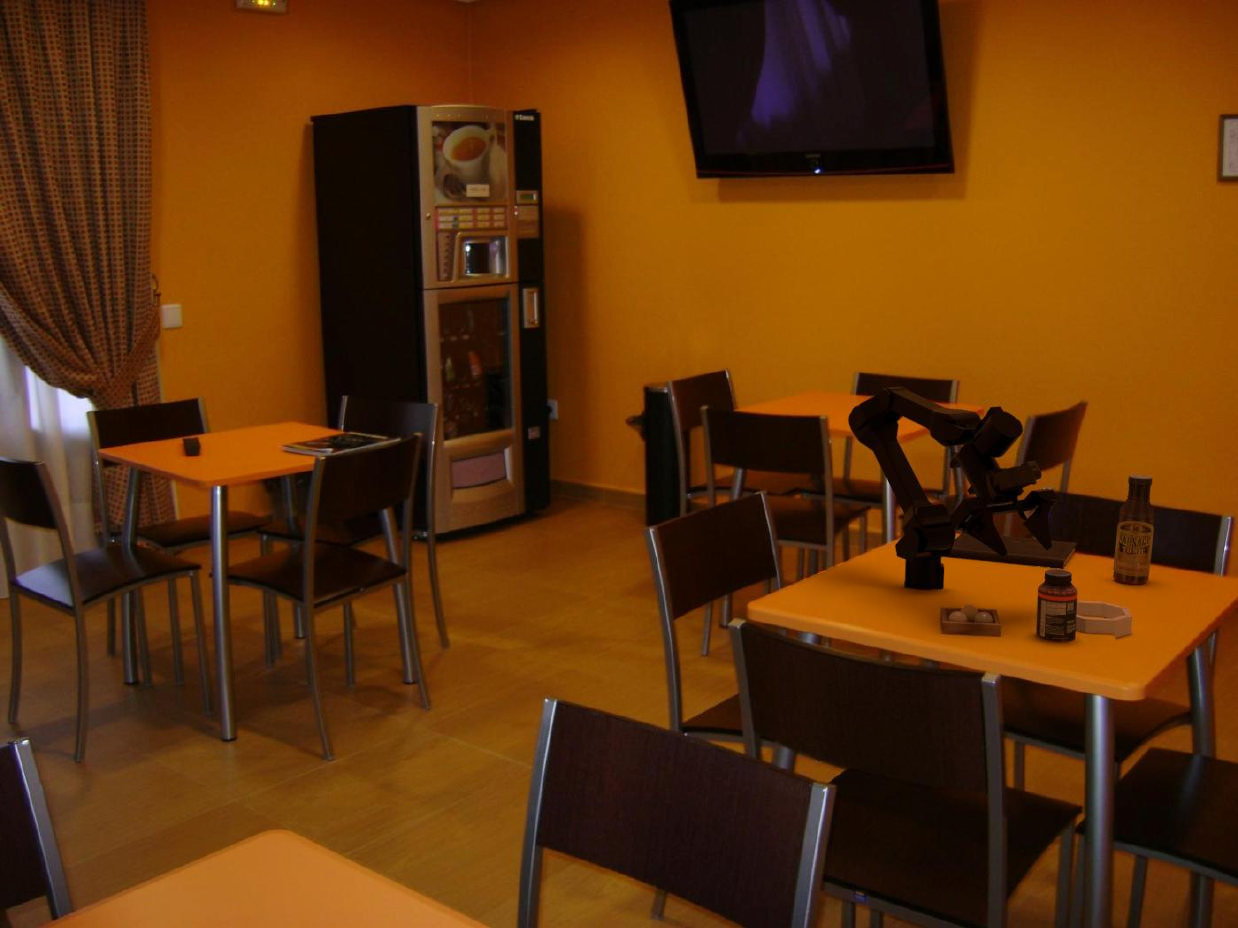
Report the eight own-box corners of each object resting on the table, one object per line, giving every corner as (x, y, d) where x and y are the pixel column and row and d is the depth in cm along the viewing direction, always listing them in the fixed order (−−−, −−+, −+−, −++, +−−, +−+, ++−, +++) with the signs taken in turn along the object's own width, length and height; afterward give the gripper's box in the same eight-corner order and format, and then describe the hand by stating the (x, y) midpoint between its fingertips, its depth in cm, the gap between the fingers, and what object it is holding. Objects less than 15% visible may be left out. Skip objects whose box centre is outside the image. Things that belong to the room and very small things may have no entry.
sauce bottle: (1112, 584, 234) (1118, 477, 231) (1113, 575, 240) (1118, 472, 236) (1150, 587, 232) (1157, 479, 228) (1150, 578, 238) (1156, 473, 234)
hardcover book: (962, 542, 270) (962, 531, 269) (1076, 553, 259) (1077, 542, 259) (943, 559, 256) (944, 548, 256) (1063, 571, 245) (1063, 560, 245)
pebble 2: (960, 624, 208) (960, 607, 208) (959, 619, 211) (959, 602, 211) (979, 625, 208) (979, 608, 207) (977, 620, 211) (978, 602, 210)
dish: (1064, 636, 204) (1065, 618, 204) (1056, 617, 214) (1057, 599, 214) (1134, 639, 202) (1135, 621, 202) (1123, 620, 212) (1124, 602, 212)
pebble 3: (974, 632, 204) (974, 614, 204) (973, 627, 207) (973, 609, 207) (993, 633, 204) (994, 615, 203) (992, 627, 206) (992, 610, 206)
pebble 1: (948, 631, 205) (949, 613, 204) (947, 626, 208) (948, 608, 207) (967, 632, 204) (968, 614, 204) (966, 627, 207) (967, 609, 207)
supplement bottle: (1042, 633, 206) (1045, 565, 204) (1080, 639, 203) (1083, 570, 201) (1030, 642, 201) (1033, 573, 199) (1068, 649, 198) (1072, 578, 196)
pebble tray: (942, 638, 204) (942, 622, 204) (940, 621, 213) (940, 606, 212) (1000, 640, 202) (1001, 625, 202) (996, 624, 211) (996, 609, 211)
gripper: (963, 450, 204) (1007, 530, 196) (1052, 440, 212) (1099, 518, 204) (930, 490, 213) (972, 568, 205) (1018, 479, 220) (1061, 555, 212)
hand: (1027, 551), depth 206 cm, fingers open, 9 cm apart
